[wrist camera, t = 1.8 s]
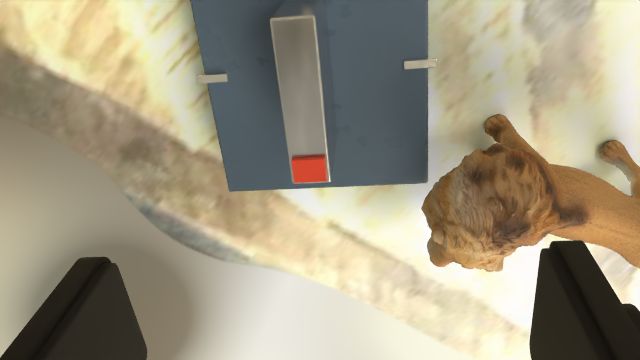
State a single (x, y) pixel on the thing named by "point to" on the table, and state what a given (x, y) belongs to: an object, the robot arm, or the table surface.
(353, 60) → the panel
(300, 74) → the tap handle
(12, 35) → the table surface
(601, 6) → the table surface
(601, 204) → the lion figurine
